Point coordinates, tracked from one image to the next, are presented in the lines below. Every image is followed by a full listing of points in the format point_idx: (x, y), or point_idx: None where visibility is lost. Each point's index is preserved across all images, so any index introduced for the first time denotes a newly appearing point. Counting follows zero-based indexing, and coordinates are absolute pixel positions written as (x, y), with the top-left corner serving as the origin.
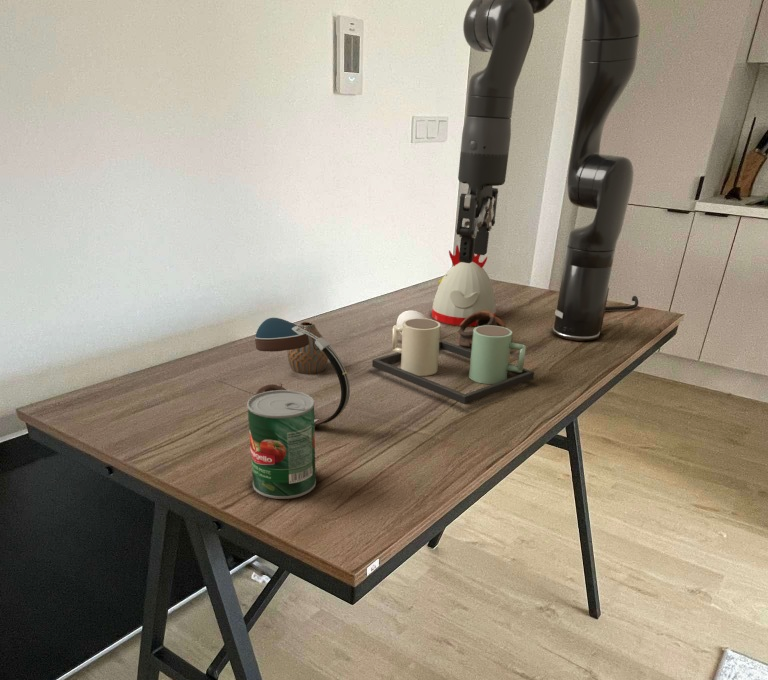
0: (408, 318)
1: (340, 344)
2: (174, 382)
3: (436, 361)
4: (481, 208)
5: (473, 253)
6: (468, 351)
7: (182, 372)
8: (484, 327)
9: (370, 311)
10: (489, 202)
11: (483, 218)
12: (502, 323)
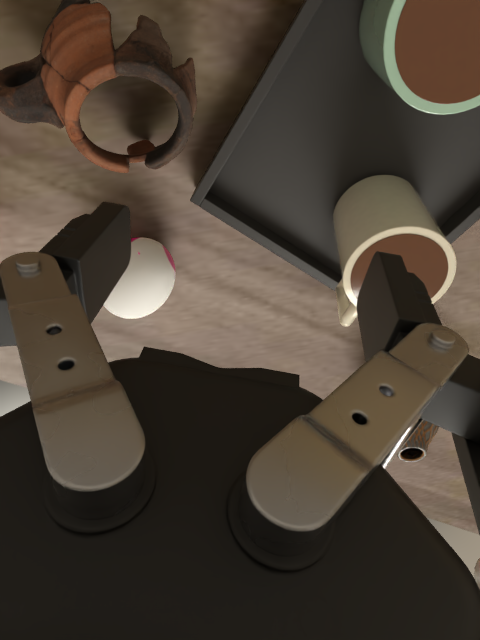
0: (157, 299)
1: (228, 366)
2: (443, 486)
3: (403, 187)
4: (374, 472)
5: (388, 270)
6: (254, 114)
7: (405, 487)
8: (420, 73)
9: (16, 357)
10: (257, 471)
11: (364, 381)
12: (92, 23)
